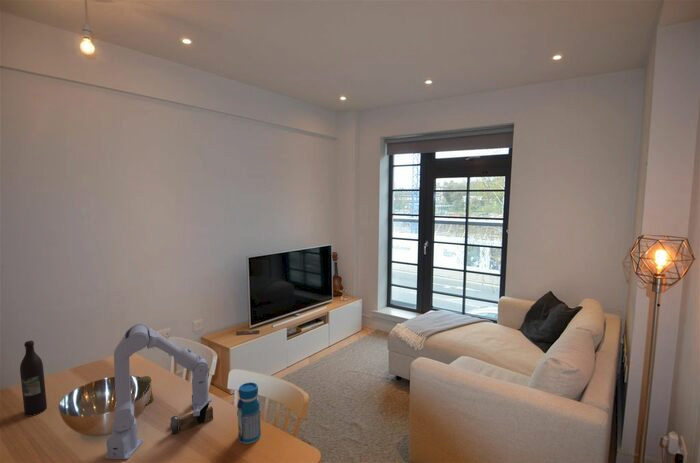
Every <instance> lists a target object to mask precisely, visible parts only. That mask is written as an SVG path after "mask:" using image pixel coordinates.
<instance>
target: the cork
mask: <svg viewBox="0 0 700 463" xmlns="http://www.w3.org/2000/svg"><path fill="white" fill-rule="evenodd" d="M149 383H150V384H152V377H151V376H148V375H144V376H141V377H140V378H138V379H137V386H138V394H137V396H138V397H140V396H141V395H142V394H143V392H144V391H145V390H146V388H147V386H148V385H149ZM138 397H137V398H138ZM152 403H154V395H153V390H152V389H151V396H150V400H149V402H148V405H150V404H152Z"/></svg>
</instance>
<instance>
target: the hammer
mask: <svg viewBox="0 0 700 463" xmlns="http://www.w3.org/2000/svg"><path fill="white" fill-rule="evenodd" d="M192 401H193V395H191V402H192ZM191 408H192V409H193V405H192V404H191ZM178 419H179V416H178V415H174V416H172V417H171V418H170V424H169V425H170V429H171V435H174V436H175V435H177V434H179V432H180V431H179V425H178Z"/></svg>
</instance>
